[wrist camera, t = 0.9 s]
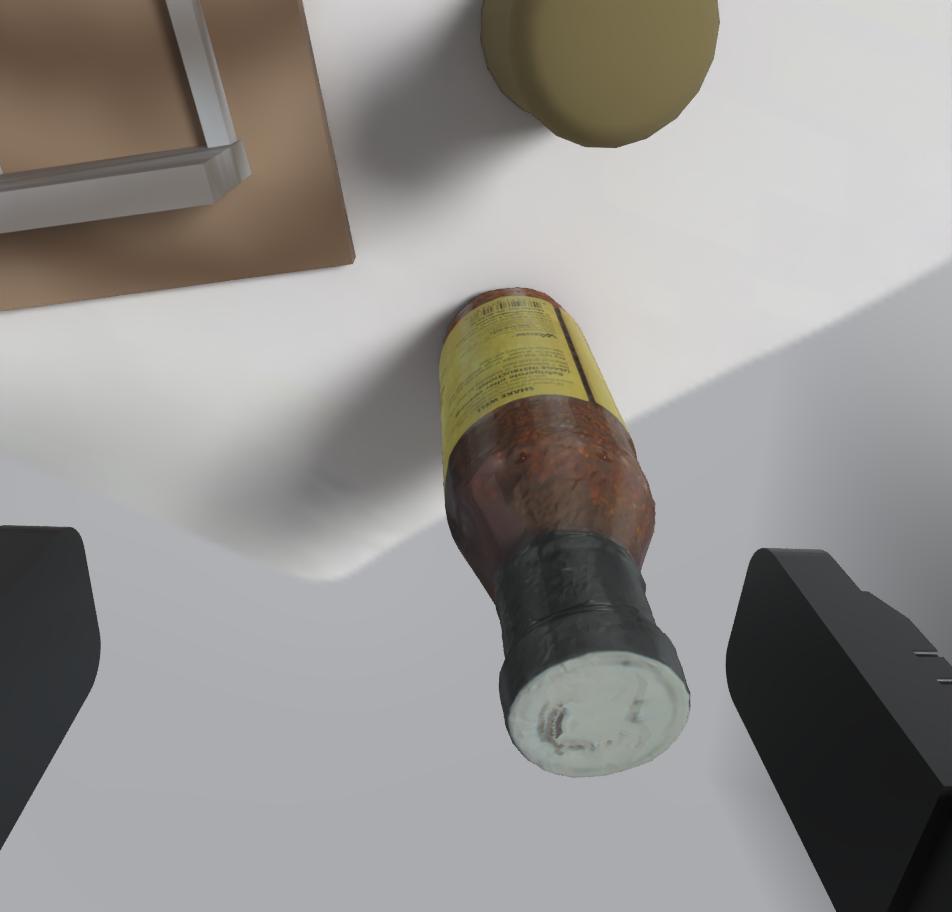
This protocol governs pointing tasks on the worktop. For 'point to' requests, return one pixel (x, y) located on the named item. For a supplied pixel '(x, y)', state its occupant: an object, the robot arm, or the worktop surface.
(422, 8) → the worktop surface
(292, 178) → the shaker holder
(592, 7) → the olive rounded bulbous part
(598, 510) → the sauce bottle
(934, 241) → the worktop surface
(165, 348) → the worktop surface
